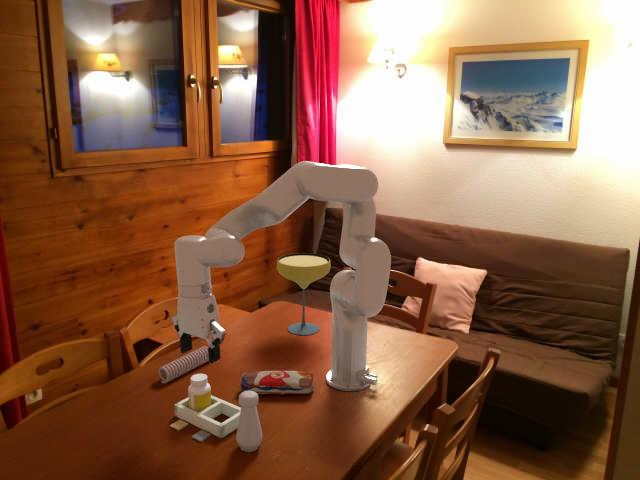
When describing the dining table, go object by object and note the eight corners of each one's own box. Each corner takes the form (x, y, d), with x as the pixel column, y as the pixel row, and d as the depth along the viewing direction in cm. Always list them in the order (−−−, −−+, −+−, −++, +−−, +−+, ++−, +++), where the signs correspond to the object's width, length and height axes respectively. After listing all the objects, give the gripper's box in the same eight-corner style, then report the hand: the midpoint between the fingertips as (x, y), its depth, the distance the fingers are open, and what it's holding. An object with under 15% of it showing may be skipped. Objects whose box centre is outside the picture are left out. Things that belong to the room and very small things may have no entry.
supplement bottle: (216, 411, 131) (214, 375, 129) (200, 422, 127) (198, 384, 125) (200, 405, 134) (198, 370, 132) (184, 415, 130) (182, 378, 128)
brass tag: (188, 425, 126) (188, 423, 126) (178, 430, 123) (178, 429, 123) (180, 420, 127) (179, 419, 127) (170, 426, 125) (170, 425, 125)
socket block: (247, 421, 127) (246, 410, 127) (221, 438, 121) (221, 426, 120) (200, 401, 136) (200, 390, 136) (174, 415, 129) (174, 404, 129)
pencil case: (306, 406, 135) (306, 389, 134) (234, 396, 139) (234, 378, 138) (317, 386, 145) (317, 369, 144) (250, 376, 150) (249, 360, 149)
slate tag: (210, 435, 122) (210, 434, 121) (201, 442, 119) (200, 440, 119) (201, 431, 123) (201, 429, 123) (191, 437, 121) (191, 436, 121)
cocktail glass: (337, 324, 188) (338, 256, 182) (316, 343, 172) (317, 269, 166) (292, 316, 195) (292, 250, 189) (267, 334, 179) (266, 262, 173)
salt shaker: (237, 439, 120) (236, 387, 117) (262, 438, 121) (262, 386, 118) (235, 455, 115) (234, 401, 112) (262, 454, 115) (261, 400, 112)
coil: (167, 371, 143) (214, 348, 158) (155, 365, 145) (202, 342, 160) (167, 386, 144) (213, 362, 159) (155, 380, 147) (202, 356, 162)
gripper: (233, 290, 121) (237, 358, 126) (182, 278, 131) (188, 342, 135) (209, 300, 115) (214, 371, 120) (157, 286, 125) (164, 353, 129)
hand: (200, 356), depth 127 cm, fingers open, 9 cm apart
